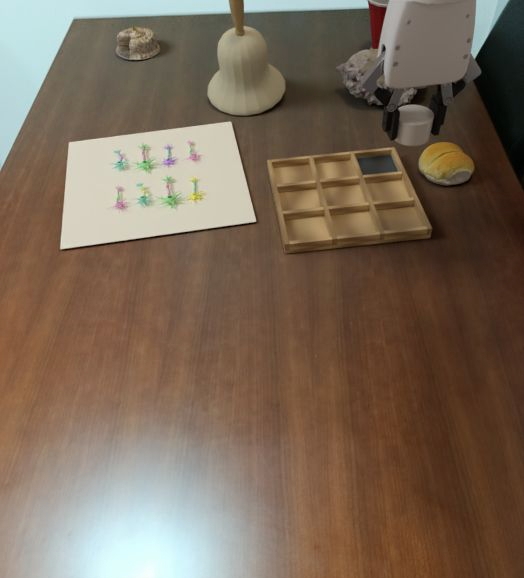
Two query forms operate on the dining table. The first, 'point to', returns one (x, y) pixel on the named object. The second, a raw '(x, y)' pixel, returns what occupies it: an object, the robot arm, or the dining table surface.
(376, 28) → the plastic cup
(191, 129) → the printed paper
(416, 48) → the robot arm
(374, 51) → the geode
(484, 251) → the dining table surface
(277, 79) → the handbell
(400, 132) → the white cylinder puck
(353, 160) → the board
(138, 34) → the cake
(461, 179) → the bread roll
